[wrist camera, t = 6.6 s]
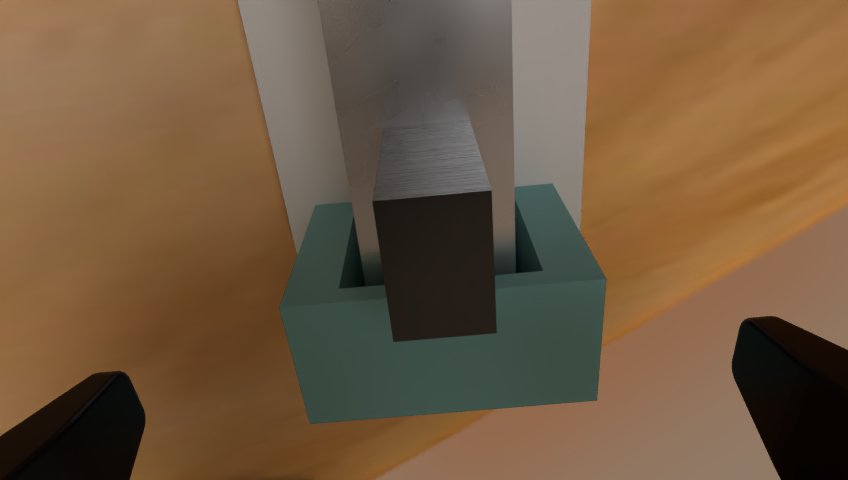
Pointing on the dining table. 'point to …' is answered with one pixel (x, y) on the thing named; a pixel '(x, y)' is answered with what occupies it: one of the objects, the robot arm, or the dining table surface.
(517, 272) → the socket block
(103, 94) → the dining table surface
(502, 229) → the grey bar with tab
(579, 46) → the base board
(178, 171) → the dining table surface
